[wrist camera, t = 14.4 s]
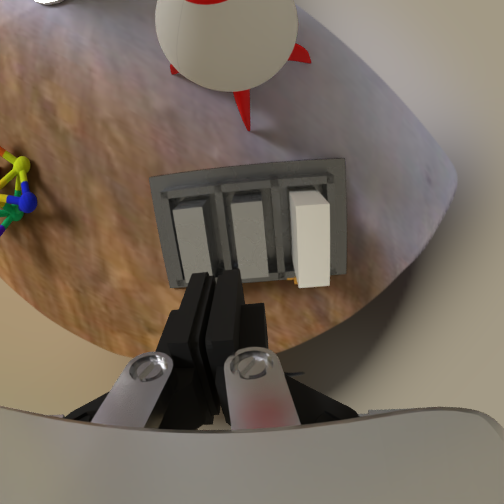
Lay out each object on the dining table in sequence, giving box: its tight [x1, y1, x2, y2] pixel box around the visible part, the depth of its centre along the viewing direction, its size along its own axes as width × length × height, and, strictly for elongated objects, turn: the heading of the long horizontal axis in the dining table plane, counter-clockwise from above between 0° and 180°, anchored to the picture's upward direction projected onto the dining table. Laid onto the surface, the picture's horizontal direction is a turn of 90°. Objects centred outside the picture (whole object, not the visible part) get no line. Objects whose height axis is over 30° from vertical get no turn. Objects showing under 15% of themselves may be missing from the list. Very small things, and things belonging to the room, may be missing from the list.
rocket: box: [155, 0, 311, 131], centre depth 19 cm, size 11×11×25 cm
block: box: [288, 187, 330, 288], centre depth 33 cm, size 8×3×8 cm, turn 5°
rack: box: [149, 158, 347, 288], centre depth 35 cm, size 14×22×6 cm, turn 96°
